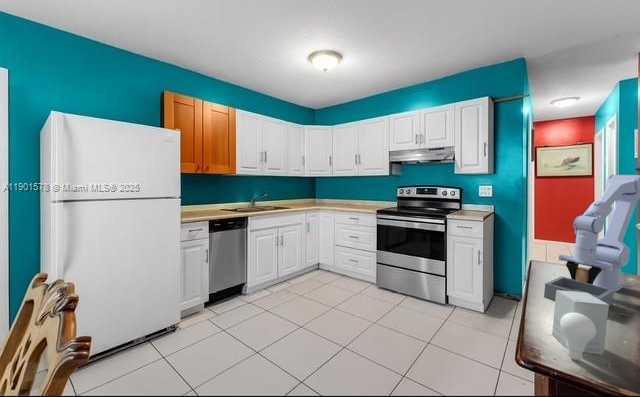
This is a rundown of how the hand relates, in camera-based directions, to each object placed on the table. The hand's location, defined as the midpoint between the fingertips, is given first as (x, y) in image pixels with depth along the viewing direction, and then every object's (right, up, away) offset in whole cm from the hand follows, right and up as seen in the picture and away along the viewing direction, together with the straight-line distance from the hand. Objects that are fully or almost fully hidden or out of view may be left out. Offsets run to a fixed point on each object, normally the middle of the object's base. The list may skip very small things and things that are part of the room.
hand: (581, 284), depth 105 cm
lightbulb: (-38, -6, -39) cm, 55 cm away
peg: (0, -2, 0) cm, 2 cm away
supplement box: (-32, -5, -33) cm, 47 cm away
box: (-9, -3, -8) cm, 13 cm away
